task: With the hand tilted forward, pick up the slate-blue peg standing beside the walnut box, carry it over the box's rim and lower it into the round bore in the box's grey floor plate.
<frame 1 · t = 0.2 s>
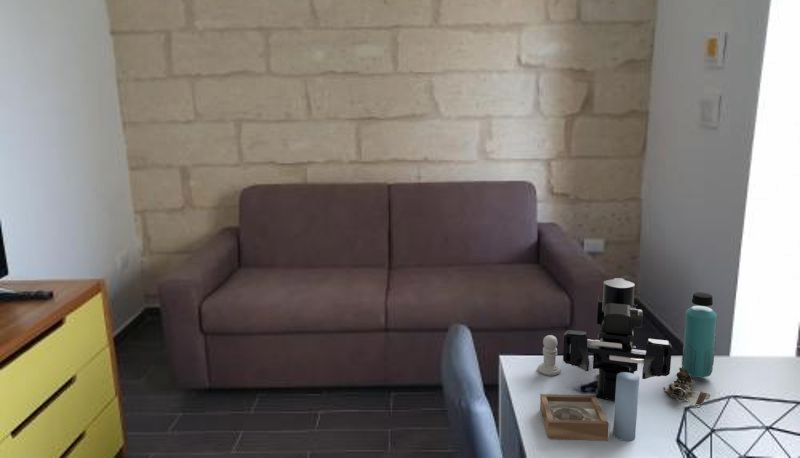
hand: (615, 372, 104), 17 cm above the table, tool horizontal, fingers open, 9 cm apart
chess piece: (549, 372, 142), on the table
crumpled brown clump: (681, 400, 129), on the table
beverage bottle: (695, 378, 138), on the table
walnut box: (572, 424, 119), on the table
peg: (623, 435, 115), on the table
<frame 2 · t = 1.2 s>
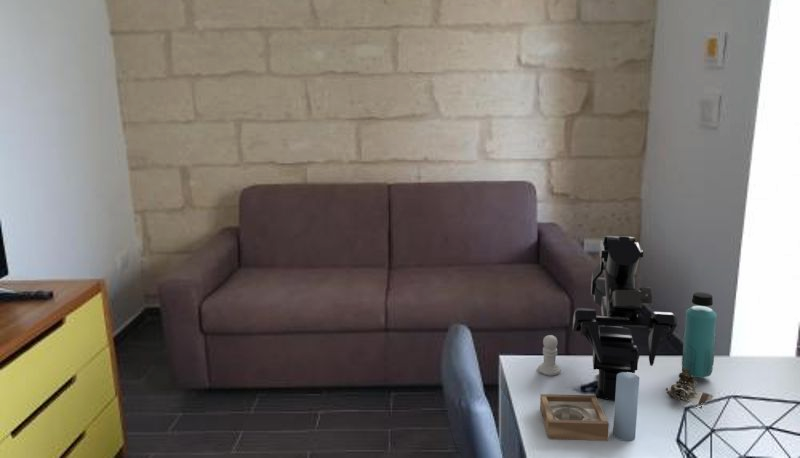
hand: (626, 363, 114), 14 cm above the table, tool tilted 45°, fingers open, 9 cm apart
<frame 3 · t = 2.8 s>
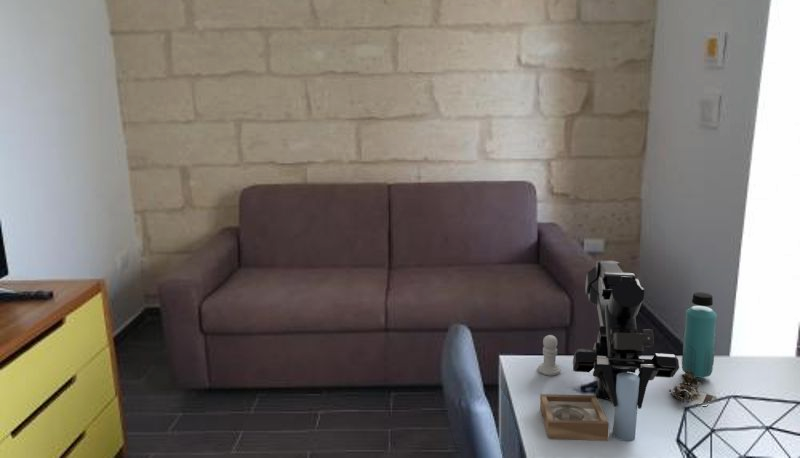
hand: (627, 407, 112), 7 cm above the table, tool tilted 45°, fingers closed on peg, 4 cm apart
peg: (623, 435, 115), on the table, touching gripper
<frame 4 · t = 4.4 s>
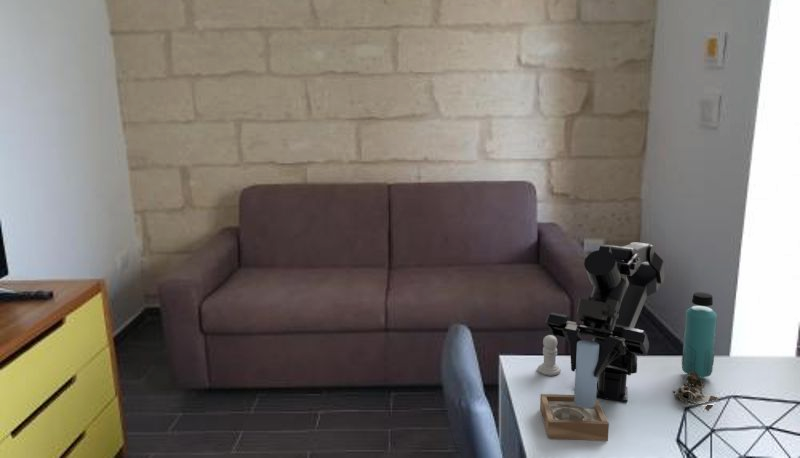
hand: (583, 373, 113), 13 cm above the table, tool tilted 45°, fingers closed on peg, 4 cm apart
peg: (584, 402, 115), point 6 cm above the table, touching gripper
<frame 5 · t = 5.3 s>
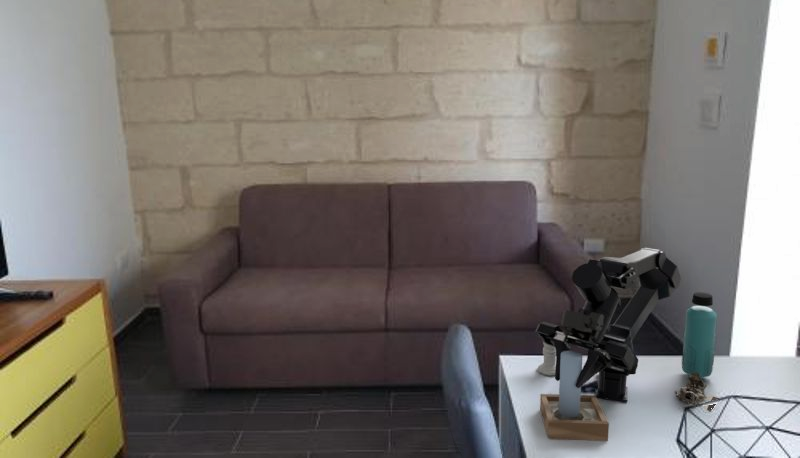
hand: (566, 383, 115), 10 cm above the table, tool tilted 45°, fingers closed on peg, 4 cm apart
peg: (568, 412, 117), point 3 cm above the table, touching gripper
when the fingers open (8 cm above the table, at t = 6.1 s): peg drops 1 cm, resting in walnut box.
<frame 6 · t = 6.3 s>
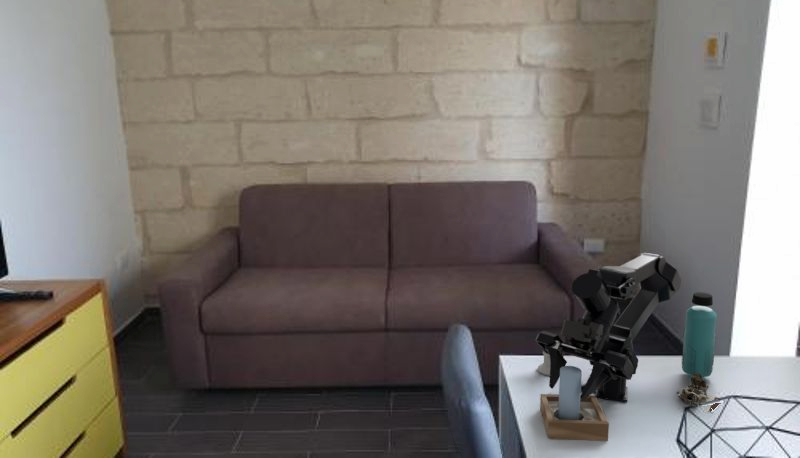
hand: (566, 393, 115), 8 cm above the table, tool tilted 45°, fingers open, 6 cm apart
peg: (568, 426, 118), resting in walnut box
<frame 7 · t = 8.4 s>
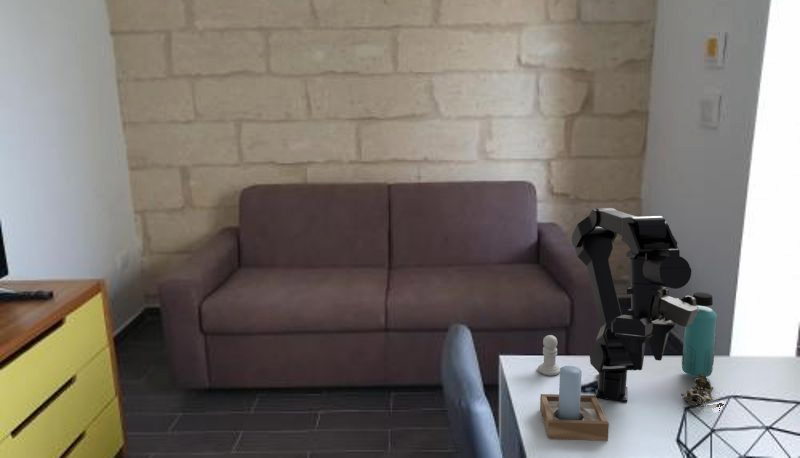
hand: (648, 364, 114), 14 cm above the table, tool pointing down, fingers open, 9 cm apart
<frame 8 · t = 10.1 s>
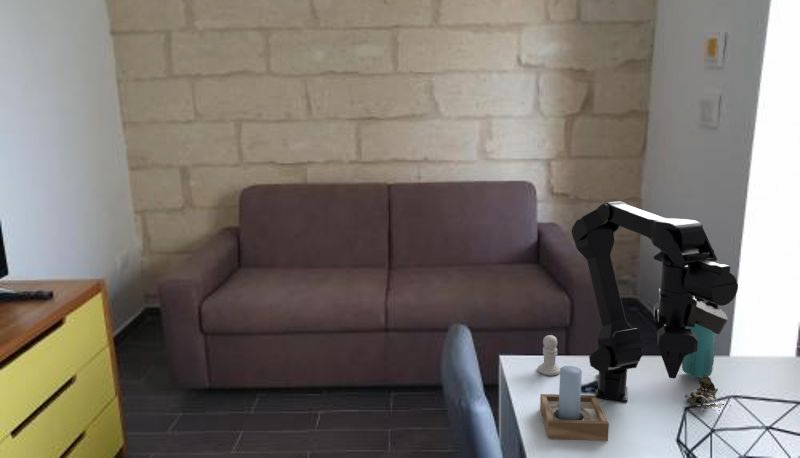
hand: (670, 367, 114), 13 cm above the table, tool pointing down, fingers open, 9 cm apart
at the end: peg 0.0 cm from the target spot, resting in walnut box; peg tilted 0°; the gripper is holding nothing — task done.
